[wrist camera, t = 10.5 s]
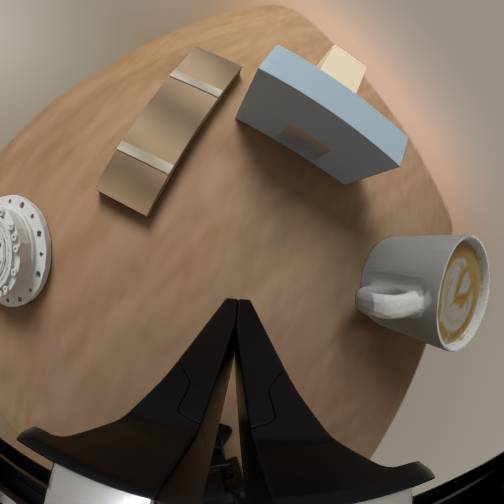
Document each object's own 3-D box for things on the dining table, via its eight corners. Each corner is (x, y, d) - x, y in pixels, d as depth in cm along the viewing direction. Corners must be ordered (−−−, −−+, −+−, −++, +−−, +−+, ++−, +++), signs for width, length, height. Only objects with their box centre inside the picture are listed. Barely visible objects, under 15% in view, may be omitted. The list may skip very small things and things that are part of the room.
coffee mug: (426, 242, 28) (493, 243, 18) (414, 324, 28) (478, 344, 18) (338, 223, 24) (416, 213, 15) (324, 327, 24) (393, 366, 15)
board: (148, 217, 20) (146, 215, 19) (99, 191, 19) (94, 188, 18) (239, 73, 22) (242, 65, 21) (195, 53, 21) (196, 46, 19)
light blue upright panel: (344, 185, 25) (400, 166, 17) (235, 118, 22) (258, 68, 14) (374, 104, 26) (419, 76, 18) (286, 45, 23) (316, 0, 15)
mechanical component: (67, 286, 19) (41, 180, 18) (44, 295, 15) (17, 168, 14) (-1, 315, 17) (-24, 220, 16) (-25, 325, 13) (-49, 218, 12)
